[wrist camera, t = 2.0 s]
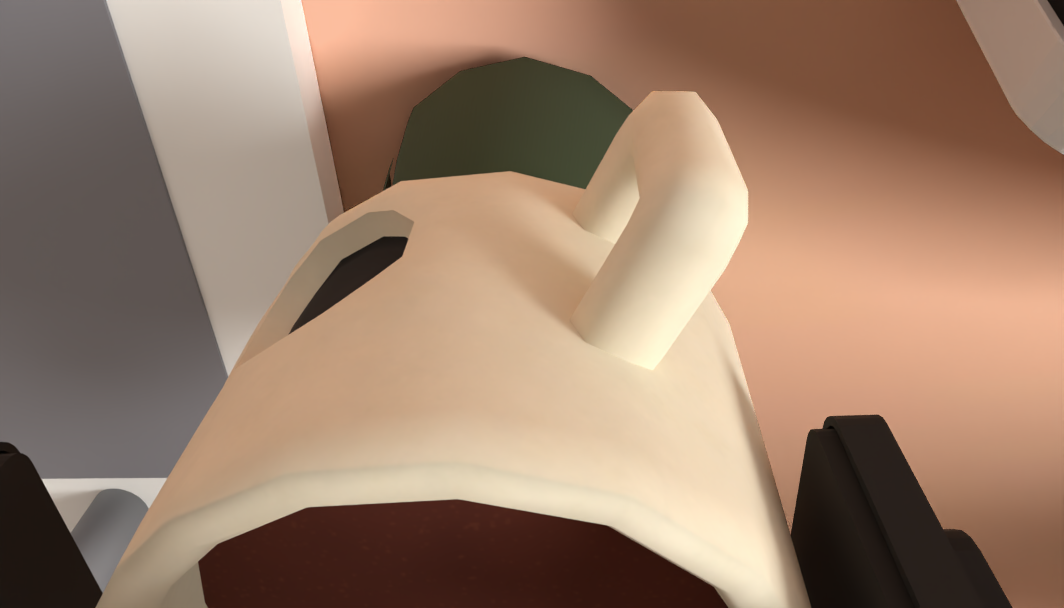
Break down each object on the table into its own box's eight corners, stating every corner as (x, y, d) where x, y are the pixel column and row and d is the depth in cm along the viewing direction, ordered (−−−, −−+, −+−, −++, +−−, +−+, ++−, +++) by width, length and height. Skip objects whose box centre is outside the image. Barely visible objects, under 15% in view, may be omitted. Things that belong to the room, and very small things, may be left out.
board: (271, -149, 15) (111, -123, 10) (454, 761, 32) (430, 947, 27) (-484, -99, 16) (-979, -52, 11) (76, 754, 33) (-18, 930, 28)
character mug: (480, -126, 15) (233, 58, 4) (791, 39, 17) (1199, 495, 6) (315, 302, 21) (22, 862, 10) (560, 401, 22) (544, 990, 11)
